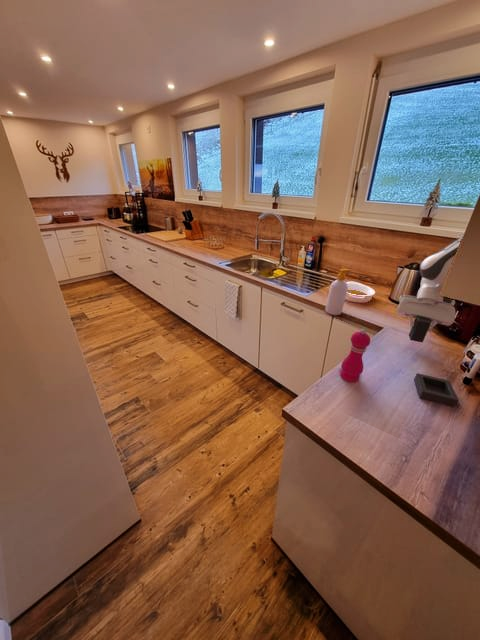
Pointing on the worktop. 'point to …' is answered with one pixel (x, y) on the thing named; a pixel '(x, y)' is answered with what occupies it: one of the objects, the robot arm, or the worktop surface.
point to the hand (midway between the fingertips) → (420, 328)
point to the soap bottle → (337, 294)
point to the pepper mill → (355, 357)
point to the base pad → (435, 390)
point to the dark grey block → (420, 328)
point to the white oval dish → (361, 288)
